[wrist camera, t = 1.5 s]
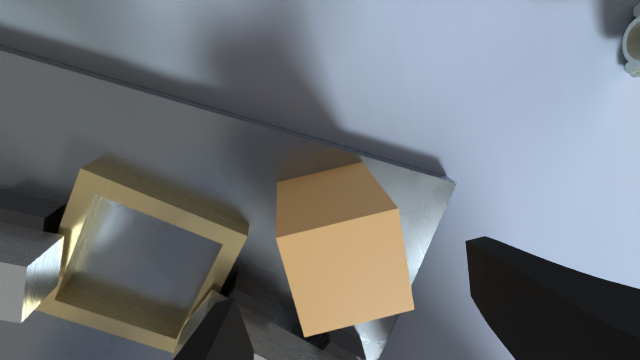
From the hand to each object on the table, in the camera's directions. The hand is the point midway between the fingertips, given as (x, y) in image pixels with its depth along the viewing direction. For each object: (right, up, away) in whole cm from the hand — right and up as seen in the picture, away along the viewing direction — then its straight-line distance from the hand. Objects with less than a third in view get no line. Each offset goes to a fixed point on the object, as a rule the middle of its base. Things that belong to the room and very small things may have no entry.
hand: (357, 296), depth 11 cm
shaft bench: (-9, 0, +7) cm, 12 cm away
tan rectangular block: (-1, +2, +6) cm, 7 cm away
